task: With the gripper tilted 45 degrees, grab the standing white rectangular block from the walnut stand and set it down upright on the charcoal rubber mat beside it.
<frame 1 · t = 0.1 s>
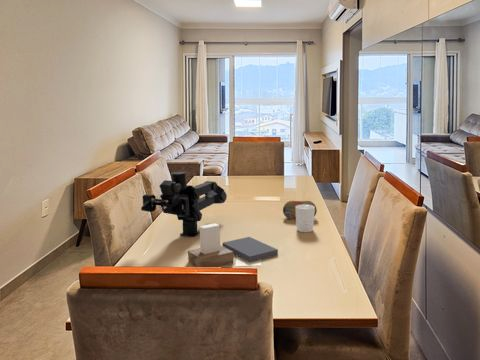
hand: (152, 210, 161), 16 cm above the table, tool horizontal, fingers open, 9 cm apart
rubber mat: (249, 251, 166), on the table
walnut stand: (210, 262, 156), on the table
white rectangular block: (210, 251, 155), point 4 cm above the table, touching walnut stand
tin: (299, 219, 207), on the table
white cup: (304, 230, 190), on the table
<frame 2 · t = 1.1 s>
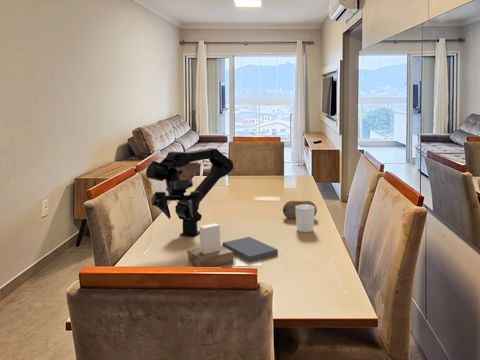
hand: (181, 217, 168), 12 cm above the table, tool tilted 45°, fingers open, 9 cm apart
nothing on the table moved.
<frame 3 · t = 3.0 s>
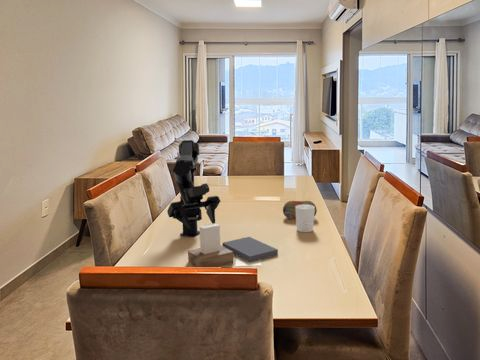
hand: (202, 226, 157), 12 cm above the table, tool tilted 45°, fingers open, 9 cm apart
nothing on the table moved.
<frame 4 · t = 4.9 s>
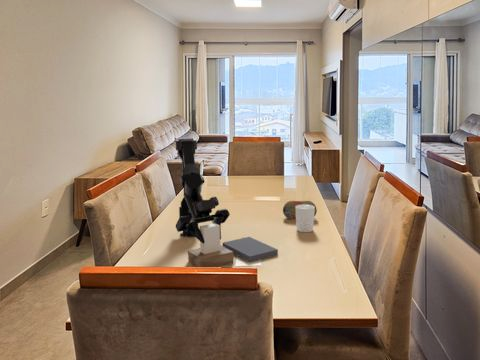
hand: (212, 241, 153), 8 cm above the table, tool tilted 45°, fingers closed on white rectangular block, 6 cm apart
white rectangular block: (210, 251, 155), point 4 cm above the table, touching gripper, walnut stand
everything else where it was.
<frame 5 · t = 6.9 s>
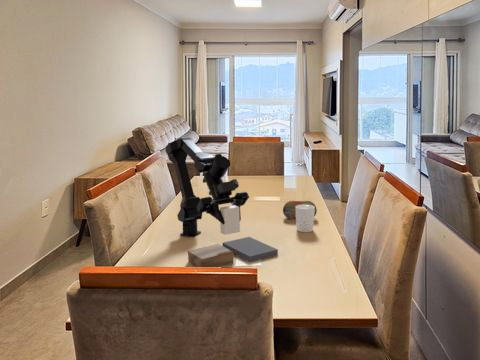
hand: (232, 222, 157), 13 cm above the table, tool tilted 45°, fingers closed on white rectangular block, 6 cm apart
white rectangular block: (230, 232, 159), point 9 cm above the table, touching gripper
everything else where it was.
when the fingers open (7 cm above the table, at t = 9.4 s): white rectangular block stays where it is, resting on rubber mat.
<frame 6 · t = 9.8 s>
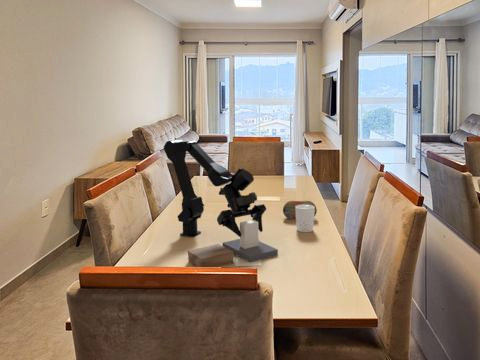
hand: (251, 233, 163), 7 cm above the table, tool tilted 45°, fingers open, 9 cm apart
white rectangular block: (249, 246, 165), point 2 cm above the table, touching rubber mat
everything else where it was.
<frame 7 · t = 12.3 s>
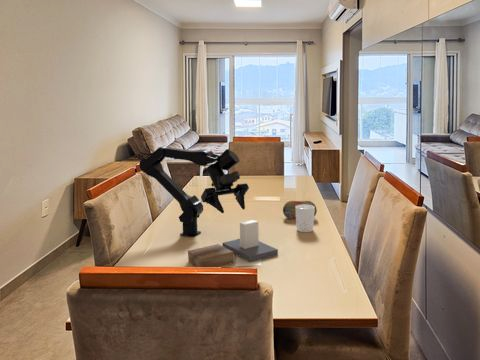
hand: (233, 210, 170), 13 cm above the table, tool tilted 45°, fingers open, 9 cm apart
nothing on the table moved.
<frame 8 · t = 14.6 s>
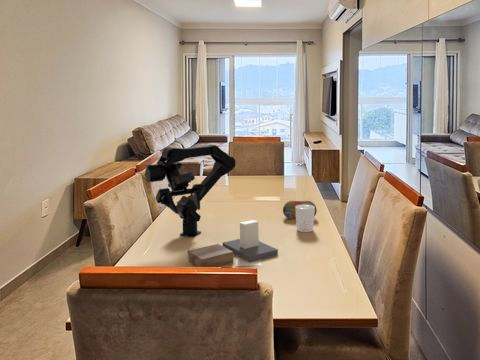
hand: (188, 211, 170), 14 cm above the table, tool tilted 45°, fingers open, 9 cm apart
nothing on the table moved.
at the end: white rectangular block inside the target area on the rubber mat (0.1 cm from its centre), point 2.0 cm above the rubber mat's base; white rectangular block tilted 0°; the gripper is holding nothing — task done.
